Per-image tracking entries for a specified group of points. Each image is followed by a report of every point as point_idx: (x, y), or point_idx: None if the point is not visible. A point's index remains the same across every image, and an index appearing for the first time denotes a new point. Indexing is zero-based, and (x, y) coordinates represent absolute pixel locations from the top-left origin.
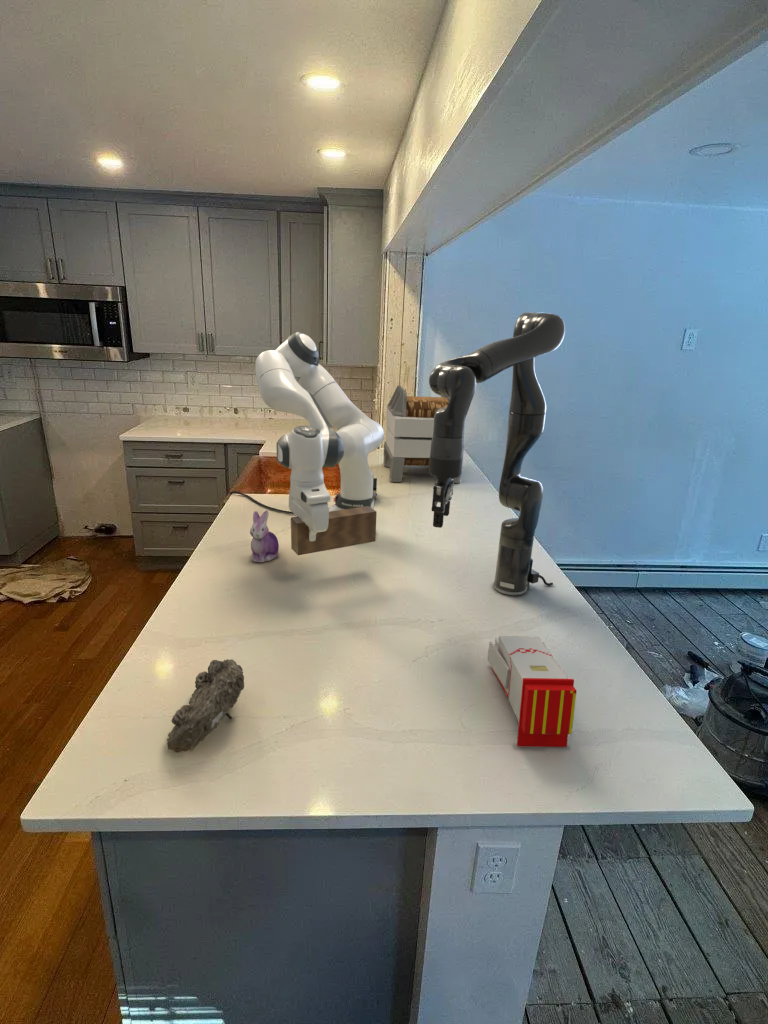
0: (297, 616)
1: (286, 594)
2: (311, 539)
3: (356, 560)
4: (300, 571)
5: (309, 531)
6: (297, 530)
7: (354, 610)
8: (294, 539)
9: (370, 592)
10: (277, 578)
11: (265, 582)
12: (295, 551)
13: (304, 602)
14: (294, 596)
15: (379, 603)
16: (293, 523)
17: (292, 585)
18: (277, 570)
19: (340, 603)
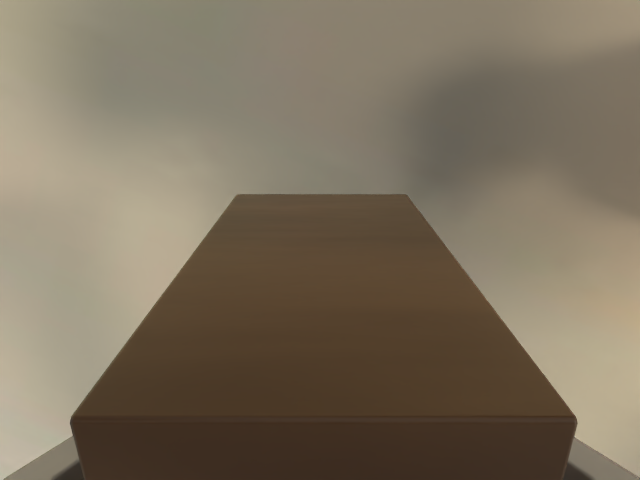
0: (18, 41)
1: (264, 72)
2: None
3: None
4: (476, 232)
5: (75, 457)
6: (146, 318)
7: (21, 300)
8: (317, 236)
9: None
10: (463, 92)
11: (451, 7)
12: (296, 197)
13: (151, 129)
14: (228, 105)
15: (57, 402)
16: (358, 357)
17: (348, 139)
18: (554, 126)
19: (96, 274)
